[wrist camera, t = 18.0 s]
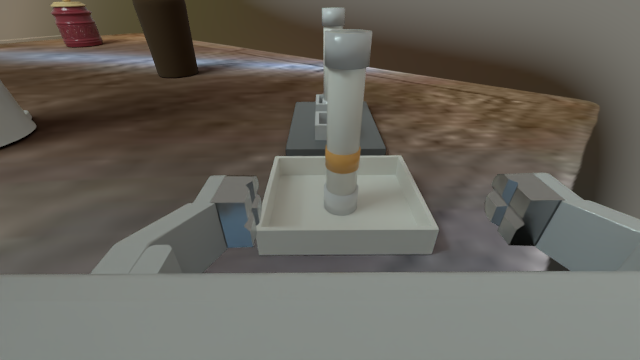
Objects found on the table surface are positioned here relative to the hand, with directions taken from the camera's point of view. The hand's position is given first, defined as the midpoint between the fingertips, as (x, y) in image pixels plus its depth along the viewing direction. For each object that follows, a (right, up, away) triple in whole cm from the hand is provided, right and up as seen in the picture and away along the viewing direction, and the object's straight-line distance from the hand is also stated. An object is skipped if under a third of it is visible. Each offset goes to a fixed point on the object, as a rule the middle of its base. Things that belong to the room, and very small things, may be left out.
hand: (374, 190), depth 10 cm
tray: (0, -2, +16) cm, 16 cm away
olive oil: (-38, +27, +62) cm, 78 cm away
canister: (-100, +57, +108) cm, 157 cm away
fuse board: (0, +8, +32) cm, 33 cm away
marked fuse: (0, -2, +16) cm, 16 cm away
